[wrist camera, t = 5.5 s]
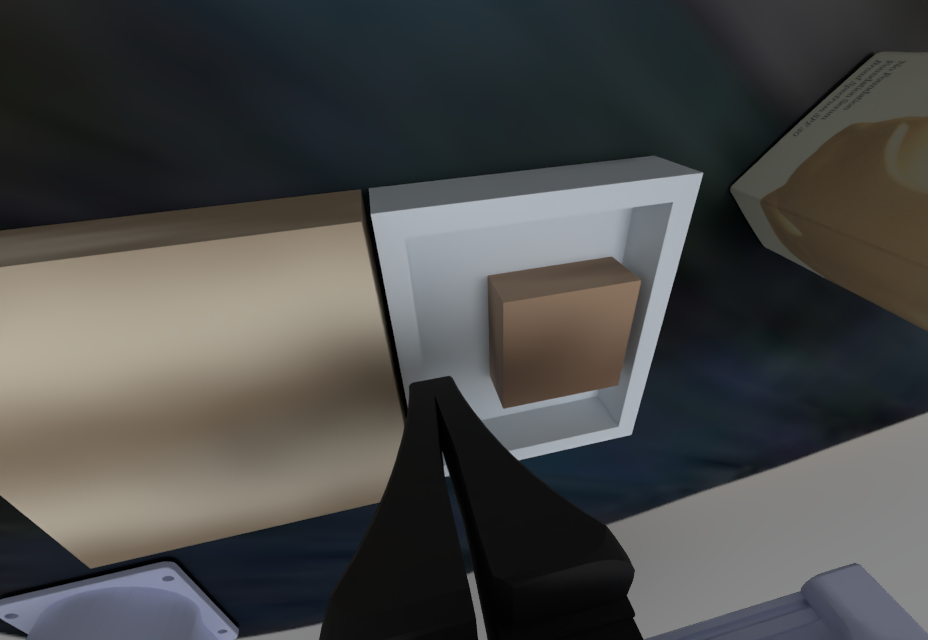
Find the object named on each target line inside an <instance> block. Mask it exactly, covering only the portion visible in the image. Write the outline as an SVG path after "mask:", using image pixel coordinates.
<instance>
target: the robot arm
mask: <svg viewBox="0 0 928 640" xmlns="http://www.w3.org/2000/svg"><path fill="white" fill-rule="evenodd" d="M442 452H443V454H442ZM443 456H444V459H445V462H446V466H447V469H448V472H449V476H450V479H451V482H452V485H453V489H454V492H455V495H456V499H457V502H458V505H459V508H460V512H461V515H462V519H463V523H464V527H465V531H466V536H467V541H468V545H469V550H470V555H471V560H472V565H473V570H474V574H475V579H476V584H477V589H478V594H479V599H480V604H481V609H482V613H483V618H484V623H485V628H486V633H487V639H488V640H643V638H642V636H641V633H640V632H639V629H638V627H637V625H636V623H635V621H634V619H633V617H634V616H635V613H634V610H633V608H632V606H631V604H630V601H629V600H628V597H627V594H628V591H629V589H630V586H631V584H632V581H633V578H634V572H635V570H634V568H633V566H632V564H631V561H630V559H629V558H628V556H627V554H626V552H625V551H624V549H623V548H622V547H621V545H620V544H619V542H618V541H617V539H616V538H615V536H614V535H613V534H612V532H611V531H610V530H609V529H608V527H607V526H606V525H604V524H603V523H601V522H600V521H598V520H596V519H595V518H593V517H592V516H590V515H588V514H587V513H585V512H584V511H582V510H581V509H579V508H578V507H576V506H575V505H573V504H572V503H571V502H569V501H568V500H566V499H565V498H564V497H562V496H561V495H559V494H558V493H557V492H556V491H554V490H553V489H552V488H550V487H549V486H548V485H547V484H545V483H544V482H543V481H542V480H540V479H539V478H538V477H537V476H535V475H534V474H533V473H532V472H531V471H529V470H528V469H527V468H526V467H525V466H524V465H523V464H522V463H521V462H519V461H518V460H517V459H516V458H515V457H514V456H513V455H512V454H511V453H510V452H509V451H508V450H507V449H506V448H505V447H504V446H503V445H502V444H501V443H500V442H499V441H498V439H497V438H496V437H495V436H494V435H493V434H492V433H491V432H490V431H489V429H488V428H487V427H486V426H485V425H484V423H483V422H482V421H481V420H480V418H479V417H478V416H477V415H476V413H475V412H474V411H473V409H472V408H471V407H470V405H469V404H468V402H467V401H466V400H465V398H464V397H463V395H462V394H461V392H460V390H459V389H458V387H457V385H456V383H455V381H454V379H453V378H452V377H451V376H445V377H440V378H434V379H429V380H424V381H418V382H413V383H411V384H410V385H409V403H408V410H407V417H406V422H405V426H404V431H403V436H402V440H401V443H400V447H399V450H398V454H397V457H396V461H395V464H394V467H393V470H392V473H391V475H390V478H389V481H388V484H387V486H386V489H385V491H384V494H383V496H382V498H381V501H380V503H379V506H378V508H377V510H376V512H375V515H374V517H373V519H372V521H371V523H370V525H369V527H368V529H367V531H366V533H365V535H364V537H363V539H362V541H361V543H360V545H359V547H358V549H357V551H356V553H355V554H354V556H353V558H352V560H351V562H350V563H349V565H348V567H347V568H346V570H345V572H344V573H343V575H342V577H341V578H340V580H339V582H338V584H337V585H336V587H335V589H334V590H333V592H332V594H331V595H330V598H329V602H328V605H327V609H326V612H325V616H324V620H323V624H322V628H321V633H320V638H319V640H478V636H477V625H476V617H475V612H474V607H473V602H472V597H471V593H470V588H469V583H468V579H467V575H466V571H465V566H464V562H463V557H462V553H461V549H460V544H459V540H458V536H457V531H456V527H455V522H454V518H453V513H452V509H451V504H450V499H449V495H448V490H447V486H446V481H445V474H444V464H443ZM0 619H2V620H4V621H6V622H7V623H9V624H11V625H13V626H14V627H16V628H18V629H20V630H21V631H23V632H25V633H27V634H28V636H27V638H26V640H234V639H236V638H237V636H238V633H239V629H238V628H237V627H236V626H235V625H234V624H233V623H232V622H231V621H230V620H229V618H228V617H227V616H226V615H225V614H224V613H223V612H222V611H221V610H220V609H219V608H218V607H217V606H216V605H215V604H214V603H213V602H212V601H211V600H210V599H209V598H208V597H207V595H206V594H205V593H204V592H203V591H202V590H201V589H200V588H199V587H198V586H197V585H196V584H195V583H194V582H193V581H192V580H191V579H190V578H189V577H188V576H187V575H186V574H185V573H184V571H183V570H182V569H181V568H180V567H179V566H178V565H177V564H176V563H174V562H171V561H163V562H159V563H154V564H150V565H146V566H141V567H137V568H133V569H128V570H124V571H120V572H116V573H111V574H107V575H103V576H98V577H94V578H90V579H85V580H81V581H77V582H73V583H68V584H64V585H60V586H55V587H51V588H47V589H43V590H38V591H34V592H30V593H25V594H21V595H17V596H12V597H8V598H4V599H1V600H0ZM644 640H928V633H927V632H926V631H925V630H924V629H923V628H922V627H921V626H920V625H919V624H918V623H917V622H916V621H915V620H914V619H913V618H912V617H911V616H910V615H909V614H908V613H907V612H906V611H905V610H904V609H903V608H902V607H901V606H900V605H899V604H898V603H897V602H896V601H895V600H894V599H893V598H892V597H891V596H890V595H889V594H888V593H887V591H886V590H885V589H884V588H883V587H882V586H881V585H880V584H879V583H878V582H877V581H876V580H875V579H874V578H873V577H872V576H871V575H870V574H869V573H868V572H867V571H866V570H865V569H864V568H863V567H862V566H861V565H860V564H856V563H853V564H850V565H847V566H843V567H840V568H837V569H834V570H830V571H827V572H824V573H821V574H818V575H816V576H815V577H813V578H811V579H810V580H808V581H807V582H806V583H805V584H804V585H803V586H802V588H801V591H800V592H797V593H793V594H790V595H787V596H784V597H780V598H777V599H774V600H771V601H768V602H764V603H761V604H758V605H754V606H751V607H748V608H745V609H741V610H738V611H735V612H732V613H728V614H725V615H722V616H719V617H716V618H713V619H709V620H706V621H703V622H699V623H696V624H693V625H690V626H686V627H683V628H680V629H677V630H673V631H670V632H667V633H664V634H660V635H657V636H654V637H651V638H647V639H644Z"/></svg>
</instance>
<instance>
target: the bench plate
mask: <svg viewBox="0 0 928 640" xmlns="http://www.w3.org/2000/svg"><path fill="white" fill-rule="evenodd" d="M405 422H406V415H405V410H404V405H403V400H402V394H401V389H400V384H399V379H398V374H397V369H396V364H395V359H394V354H393V349H392V344H391V339H390V334H389V329H388V324H387V319H386V314H385V308H384V303H383V298H382V293H381V288H380V283H379V278H378V273H377V268H376V263H375V258H374V253H373V248H372V243H371V238H370V233H369V228H368V223H367V217H366V212H365V207H364V202H363V197H362V192H361V189H359V190H350V191H342V192H333V193H324V194H315V195H307V196H298V197H289V198H280V199H272V200H263V201H254V202H246V203H237V204H228V205H219V206H211V207H202V208H193V209H185V210H176V211H167V212H158V213H150V214H141V215H132V216H124V217H115V218H106V219H97V220H89V221H80V222H71V223H63V224H54V225H45V226H36V227H28V228H19V229H10V230H2V231H0V495H1V496H2V497H3V498H4V499H6V500H7V501H8V502H9V503H11V504H12V505H13V506H14V507H16V508H17V509H18V510H19V511H20V512H22V513H23V514H24V515H25V516H27V517H28V518H29V519H30V520H31V521H33V522H34V523H35V524H36V525H38V526H39V527H40V528H41V529H42V530H44V531H45V532H46V533H47V534H49V535H50V536H51V537H52V538H54V539H55V540H56V541H57V542H58V543H60V544H61V545H62V546H63V547H65V548H66V549H67V550H68V551H69V552H71V553H72V554H73V555H74V556H76V557H77V558H78V559H79V560H80V561H82V562H83V563H84V564H85V565H87V566H88V567H89V568H90V569H91V568H95V567H99V566H104V565H108V564H112V563H117V562H121V561H125V560H130V559H134V558H138V557H143V556H147V555H152V554H156V553H160V552H165V551H169V550H173V549H178V548H182V547H186V546H191V545H195V544H200V543H204V542H208V541H213V540H217V539H221V538H226V537H230V536H234V535H239V534H243V533H247V532H252V531H256V530H261V529H265V528H269V527H274V526H278V525H282V524H287V523H291V522H295V521H300V520H304V519H309V518H313V517H317V516H322V515H326V514H330V513H335V512H339V511H343V510H348V509H352V508H356V507H361V506H365V505H370V504H374V503H378V502H380V501H381V498H382V496H383V494H384V491H385V489H386V486H387V484H388V481H389V478H390V475H391V473H392V470H393V467H394V464H395V461H396V457H397V454H398V450H399V447H400V443H401V440H402V436H403V431H404V426H405Z"/></svg>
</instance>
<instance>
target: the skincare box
mask: <svg viewBox="0 0 928 640" xmlns="http://www.w3.org/2000/svg"><path fill="white" fill-rule="evenodd" d="M730 191H731V193H732V195H733V196H734V198H735V200H736V202H737V203H738V205H739V207H740V209H741V211H742V212H743V214H744V216H745V218H746V219H747V221H748V223H749V224H750V226H751V227H752V229H753V231H754V232H755V234H756V235H757V237H758V238H759V240H760V241H761V243H762V244H763V246H764V247H766V248H768V249H770V250H772V251H774V252H776V253H778V254H780V255H782V256H784V257H786V258H788V259H790V260H791V261H793V262H795V263H797V264H799V265H801V266H803V267H805V268H807V269H809V270H811V271H812V272H814V273H816V274H818V275H820V276H822V277H824V278H826V279H828V280H830V281H832V282H833V283H835V284H837V285H839V286H841V287H844V288H846V289H848V290H849V291H851V292H853V293H855V294H857V295H859V296H861V297H863V298H865V299H867V300H869V301H871V302H873V303H875V304H876V305H878V306H880V307H882V308H884V309H886V310H888V311H890V312H892V313H894V314H896V315H898V316H899V317H901V318H903V319H905V320H907V321H909V322H911V323H913V324H914V325H916V326H918V327H920V328H922V329H924V330H926V331H928V52H879V53H877V54H875V55H874V56H873V57H871V58H870V59H869V60H868V61H867V62H866V63H864V64H863V65H862V66H861V67H860V68H859V69H858V70H857V71H856V72H854V73H853V74H852V75H851V76H850V77H849V78H848V79H847V80H845V81H844V82H843V83H842V84H841V85H840V86H839V87H838V88H837V89H835V90H834V91H833V92H832V93H831V94H830V95H829V96H828V97H826V98H825V99H824V100H823V101H822V102H821V103H820V104H819V105H818V106H816V107H815V108H814V109H813V110H812V111H811V112H810V113H809V114H808V115H807V116H806V117H804V118H803V119H802V120H801V121H800V122H799V123H798V124H797V125H796V126H795V127H794V128H793V129H792V130H791V131H789V132H788V133H787V134H786V135H785V136H784V137H783V138H782V139H781V140H780V141H779V142H778V143H776V144H775V145H774V146H773V147H772V148H771V149H770V150H769V151H768V152H767V153H766V154H765V155H764V156H763V157H762V158H761V159H760V160H759V161H758V162H756V163H755V164H754V165H753V166H752V167H751V168H750V169H749V170H748V171H747V172H746V173H745V174H744V175H743V176H741V177H740V178H739V179H738V180H737V181H736V182H735V183H734V184H733V185H732V186H731V188H730Z"/></svg>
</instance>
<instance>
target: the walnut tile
mask: <svg viewBox="0 0 928 640" xmlns="http://www.w3.org/2000/svg"><path fill="white" fill-rule="evenodd" d="M640 285H641V279H639V278H638V277H637V276H636V275H634V274H633V273H632V272H631V271H629V270H628V269H627V268H626V267H624V266H623V265H622V264H621V263H619V262H618V261H617V260H616V259H615V258H613V257H605V258H599V259H592V260H585V261H579V262H572V263H566V264H559V265H553V266H546V267H540V268H533V269H527V270H520V271H514V272H507V273H501V274H494V275H488V317H489V358H490V378H491V380H492V382H493V385H494V387H495V390H496V392H497V395H498V397H499V400H500V402H501V405H502V407H503V409H505V408H510V407H515V406H520V405H525V404H530V403H535V402H540V401H544V400H549V399H554V398H559V397H564V396H569V395H574V394H579V393H583V392H588V391H593V390H598V389H603V388H608V387H613V386H618V384H619V379H620V375H621V370H622V366H623V361H624V357H625V352H626V348H627V343H628V339H629V334H630V330H631V325H632V321H633V316H634V312H635V307H636V303H637V298H638V294H639V289H640Z"/></svg>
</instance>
